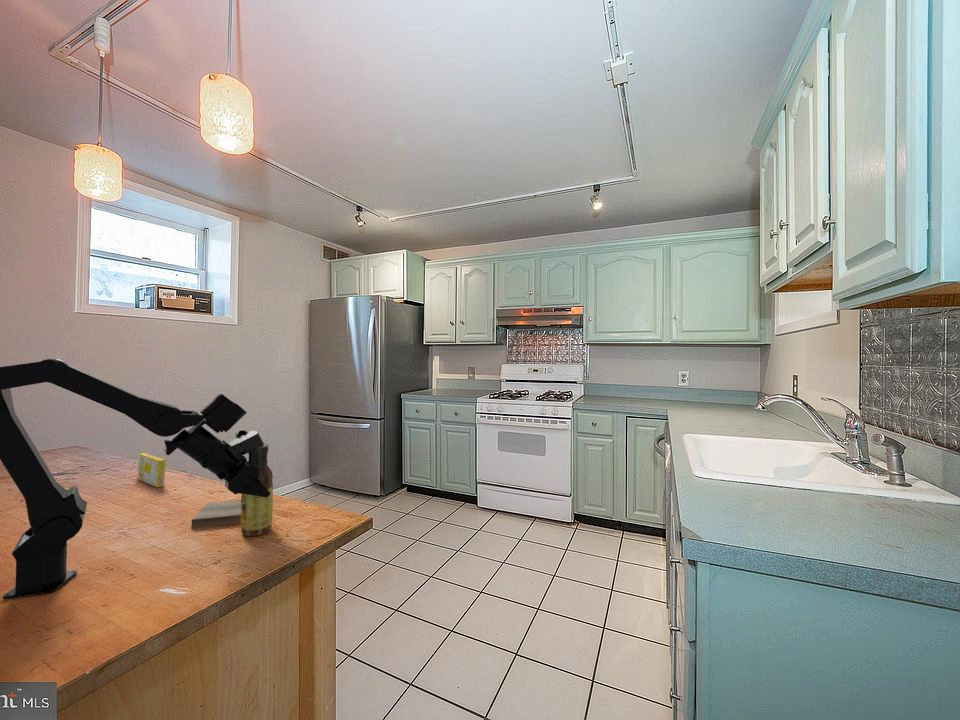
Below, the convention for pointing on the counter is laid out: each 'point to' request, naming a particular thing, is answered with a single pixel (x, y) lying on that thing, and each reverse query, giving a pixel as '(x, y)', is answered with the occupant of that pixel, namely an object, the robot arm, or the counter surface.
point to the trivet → (218, 514)
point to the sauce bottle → (258, 498)
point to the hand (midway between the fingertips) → (264, 490)
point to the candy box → (151, 469)
